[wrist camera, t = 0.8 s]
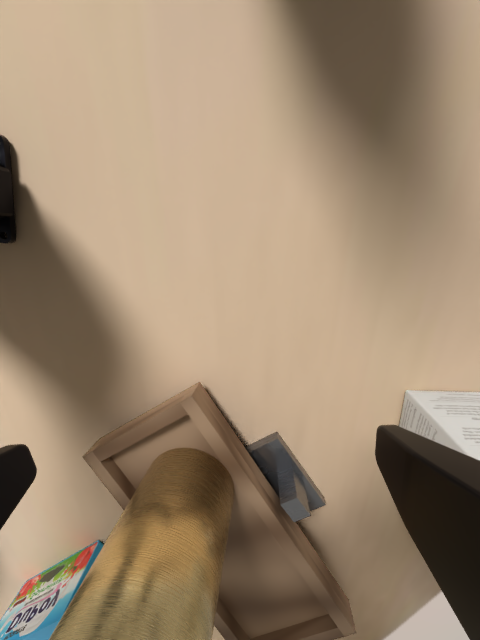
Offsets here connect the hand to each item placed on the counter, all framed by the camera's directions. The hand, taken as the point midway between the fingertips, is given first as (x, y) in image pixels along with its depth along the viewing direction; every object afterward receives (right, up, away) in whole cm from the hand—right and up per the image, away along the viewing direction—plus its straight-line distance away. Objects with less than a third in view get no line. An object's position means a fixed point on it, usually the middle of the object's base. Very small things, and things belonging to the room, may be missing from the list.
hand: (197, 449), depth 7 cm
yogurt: (-17, -23, +23) cm, 36 cm away
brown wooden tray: (0, -14, +16) cm, 21 cm away
